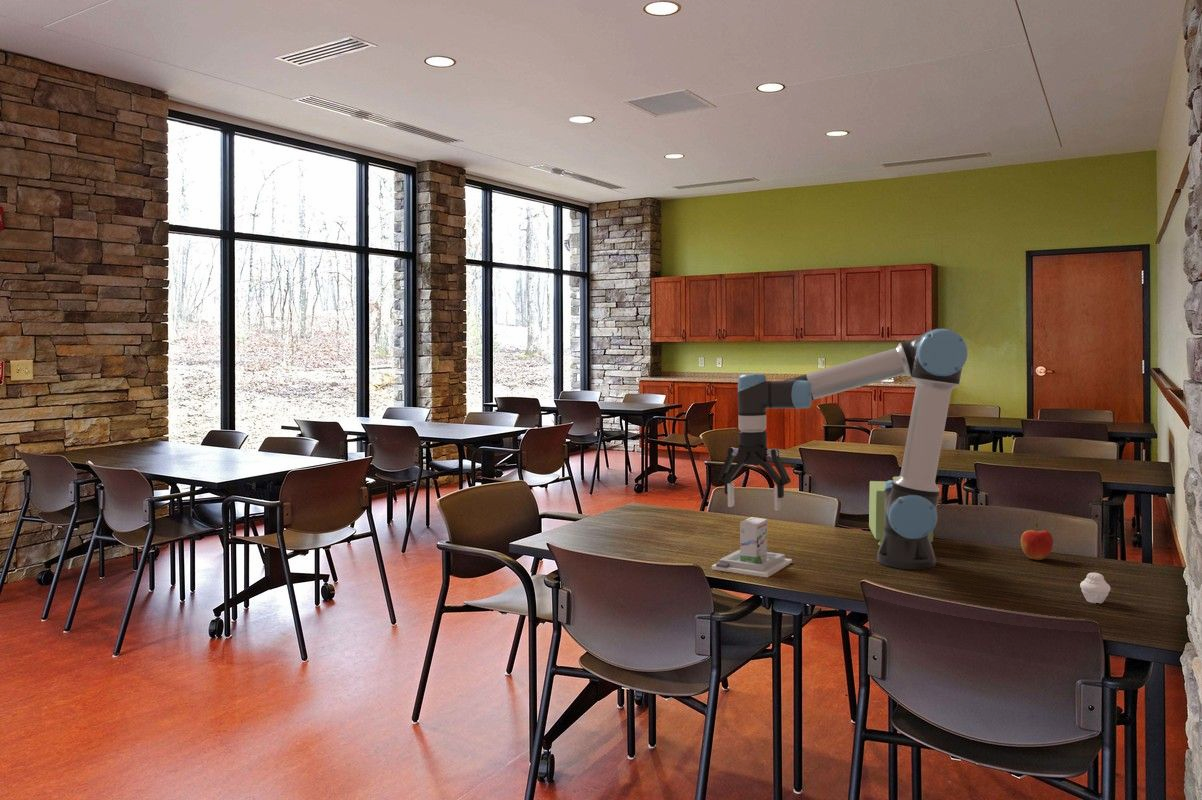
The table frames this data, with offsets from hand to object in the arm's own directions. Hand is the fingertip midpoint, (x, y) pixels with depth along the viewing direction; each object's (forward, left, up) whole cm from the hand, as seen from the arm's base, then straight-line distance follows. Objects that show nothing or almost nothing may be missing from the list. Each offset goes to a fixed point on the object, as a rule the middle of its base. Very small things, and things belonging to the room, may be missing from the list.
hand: (754, 508), depth 233 cm
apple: (-65, -48, -16) cm, 82 cm away
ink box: (0, 0, -15) cm, 15 cm away
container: (-27, -51, -16) cm, 60 cm away
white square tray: (0, 0, -16) cm, 16 cm away
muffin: (-81, -11, -16) cm, 83 cm away
